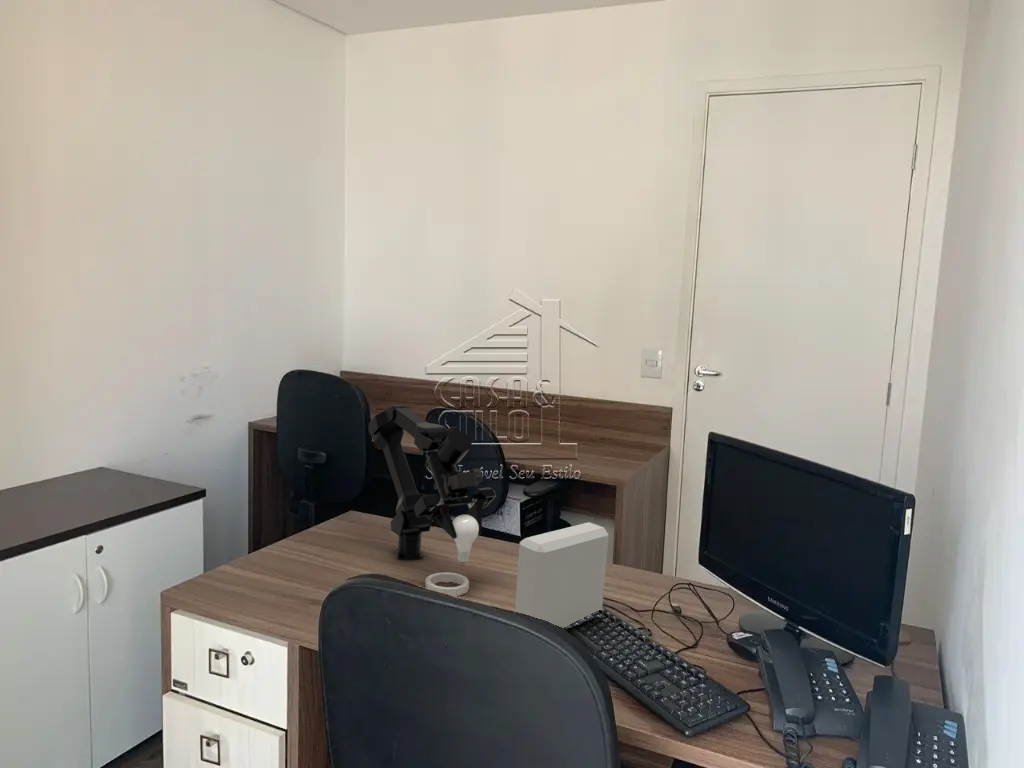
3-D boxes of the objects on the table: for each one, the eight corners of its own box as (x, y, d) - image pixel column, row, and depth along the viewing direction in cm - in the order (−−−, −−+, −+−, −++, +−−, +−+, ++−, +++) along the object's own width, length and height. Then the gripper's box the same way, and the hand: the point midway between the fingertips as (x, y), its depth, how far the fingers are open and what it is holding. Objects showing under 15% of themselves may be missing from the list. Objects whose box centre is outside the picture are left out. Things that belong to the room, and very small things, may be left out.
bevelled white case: (576, 606, 165) (583, 518, 163) (604, 619, 160) (612, 528, 157) (505, 631, 151) (512, 535, 148) (534, 647, 145) (541, 547, 143)
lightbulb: (469, 570, 165) (471, 522, 163) (443, 564, 167) (445, 516, 165) (481, 560, 170) (484, 513, 169) (457, 554, 173) (459, 508, 171)
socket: (422, 581, 173) (423, 573, 173) (463, 579, 176) (463, 571, 175) (429, 598, 164) (429, 590, 164) (471, 596, 167) (472, 588, 166)
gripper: (423, 459, 163) (446, 524, 156) (494, 453, 174) (519, 514, 167) (404, 485, 170) (425, 548, 163) (474, 477, 181) (496, 536, 174)
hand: (467, 535), depth 167 cm, fingers closed on lightbulb, 6 cm apart
